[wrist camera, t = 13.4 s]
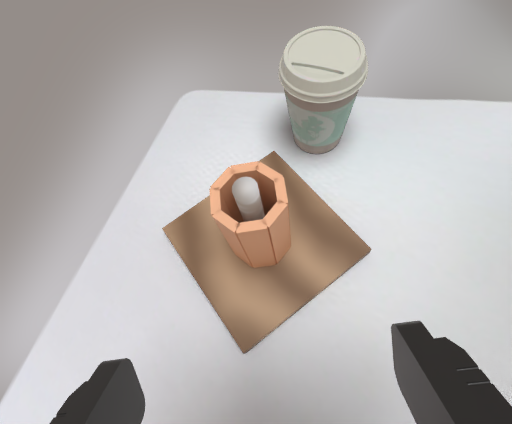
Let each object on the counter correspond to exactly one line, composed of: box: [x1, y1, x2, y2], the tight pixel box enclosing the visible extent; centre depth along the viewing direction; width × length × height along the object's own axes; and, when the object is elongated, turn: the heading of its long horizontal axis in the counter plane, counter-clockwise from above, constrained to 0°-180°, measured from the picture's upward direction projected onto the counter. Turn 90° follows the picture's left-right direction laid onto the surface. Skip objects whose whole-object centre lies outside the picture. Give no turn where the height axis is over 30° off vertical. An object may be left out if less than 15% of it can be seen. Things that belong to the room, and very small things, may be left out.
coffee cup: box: [279, 26, 368, 154], centre depth 34 cm, size 8×8×12 cm
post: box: [162, 151, 371, 353], centre depth 29 cm, size 16×16×12 cm
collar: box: [210, 161, 291, 268], centre depth 29 cm, size 6×6×10 cm
